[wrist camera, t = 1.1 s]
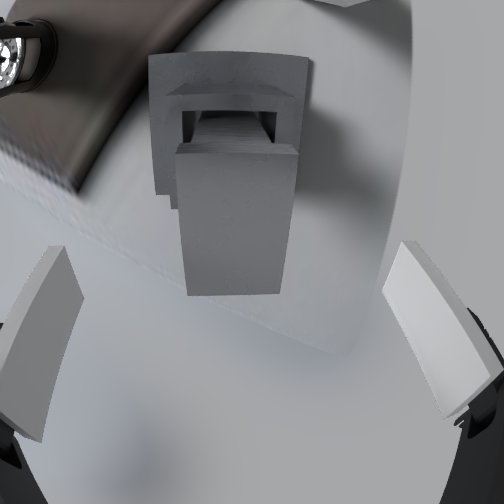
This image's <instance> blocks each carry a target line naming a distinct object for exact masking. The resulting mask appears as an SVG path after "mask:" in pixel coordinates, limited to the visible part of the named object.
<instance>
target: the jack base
mask: <svg viewBox="0 0 504 504" xmlns="http://www.w3.org/2000/svg"><path fill="white" fill-rule="evenodd" d="M308 62H309V57H301V56H293V55H283V54H272V53H258V52H233V51H206V52H181V53H167V54H156V55H149V110H150V130H151V146H152V159H153V170H154V181H155V191H156V195H170V202H171V209H178V198H177V184H176V168H175V152H176V150H177V148H178V146H179V144H180V143H191V140H192V138H193V135H194V132H195V129H196V126H197V124H198V121H199V118H200V116H201V113H202V111H203V110H240V111H253V112H254V114H255V115H256V117H257V119H258V120H259V122H260V124H261V125H262V127H263V129H264V131H265V132H266V134H267V136H268V137H269V139H270V141H271V143H275V144H291V145H292V146H293V147H294V149H295V150H296V151H297V153H298V154H299V148H300V140H301V131H302V122H303V113H304V103H305V94H306V84H307V73H308Z"/></svg>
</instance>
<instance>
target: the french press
mask: <svg viewBox="0 0 504 504" xmlns="http://www.w3.org/2000/svg"><path fill="white" fill-rule="evenodd" d="M25 38H40V42H41V52H40V58H39V61H38V65H37V67H36V69H35V72H34V74H33V75H32V77H31V78H30V80H27V81H23V82H16V80H17V79H18V77H19V75H20V72H21V70H22V67H23V64H24V60H25V54H26V41H25ZM57 53H58V37H57V34H56V31H55V29H54V27H53V26H52V25H51V24H50V23H49V22H47V21H45V20H42V19H32V20H20V21H16V22H13V23H7V22H5V21H4V19H3V17H0V98H1V97H4V96H8V95H13V94H16V93H24V92H27V91H31V90H32V89H34V88H36V87H37V86H39V85H40V84H41V83H42V82H43V81H44V80H45V79H46V78H47V76H48V75H49V73H50V72H51V70H52V68H53V66H54V63H55V61H56V58H57Z"/></svg>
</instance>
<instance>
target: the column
mask: <svg viewBox="0 0 504 504" xmlns="http://www.w3.org/2000/svg"><path fill="white" fill-rule="evenodd" d="M298 161H299V154H298V153H297V151H296V150H295V149H294V147H293V146H292V145H291V144H275V143H271V141H270V139H269V137H268V136H267V134H266V132H265V131H264V129H263V127H262V125H261V124H260V122H259V120H258V119H257V117H256V115H255V114H254V112H253V111H240V110H203V111H202V113H201V116H200V118H199V121H198V124H197V126H196V129H195V132H194V135H193V138H192V140H191V143H180V144H179V146H178V148H177V150H176V152H175V168H176V184H177V198H178V211H179V223H180V234H181V244H182V253H183V262H184V271H185V279H186V287H187V295H188V296H213V295H256V294H280V288H281V282H282V275H283V269H284V262H285V256H286V249H287V242H288V235H289V229H290V221H291V214H292V207H293V200H294V192H295V185H296V177H297V169H298Z"/></svg>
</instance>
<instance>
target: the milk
mask: <svg viewBox="0 0 504 504" xmlns="http://www.w3.org/2000/svg"><path fill="white" fill-rule="evenodd" d="M316 1H321V2H325V3H329V4H333V5H337V6H341V7H348V6H351V5H355V4H358V3H361V2H365V1H369V0H316Z"/></svg>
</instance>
